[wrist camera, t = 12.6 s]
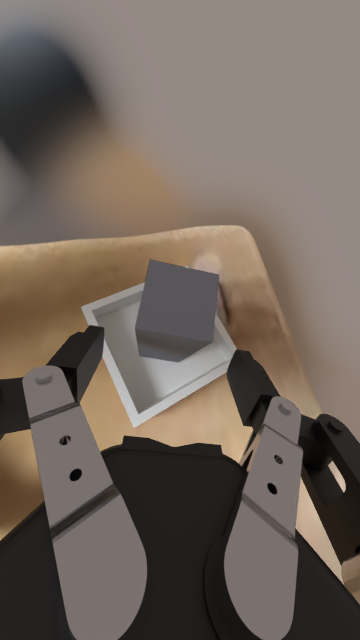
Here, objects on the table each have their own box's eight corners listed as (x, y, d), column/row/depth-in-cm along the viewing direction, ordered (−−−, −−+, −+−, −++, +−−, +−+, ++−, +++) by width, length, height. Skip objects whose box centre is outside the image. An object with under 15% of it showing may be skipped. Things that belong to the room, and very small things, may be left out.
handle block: (139, 356, 22) (134, 327, 11) (146, 318, 23) (150, 259, 12) (178, 362, 23) (212, 342, 11) (183, 325, 24) (218, 274, 13)
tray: (135, 421, 21) (134, 428, 18) (89, 317, 23) (80, 306, 20) (230, 364, 25) (244, 361, 21) (182, 279, 27) (188, 265, 24)
